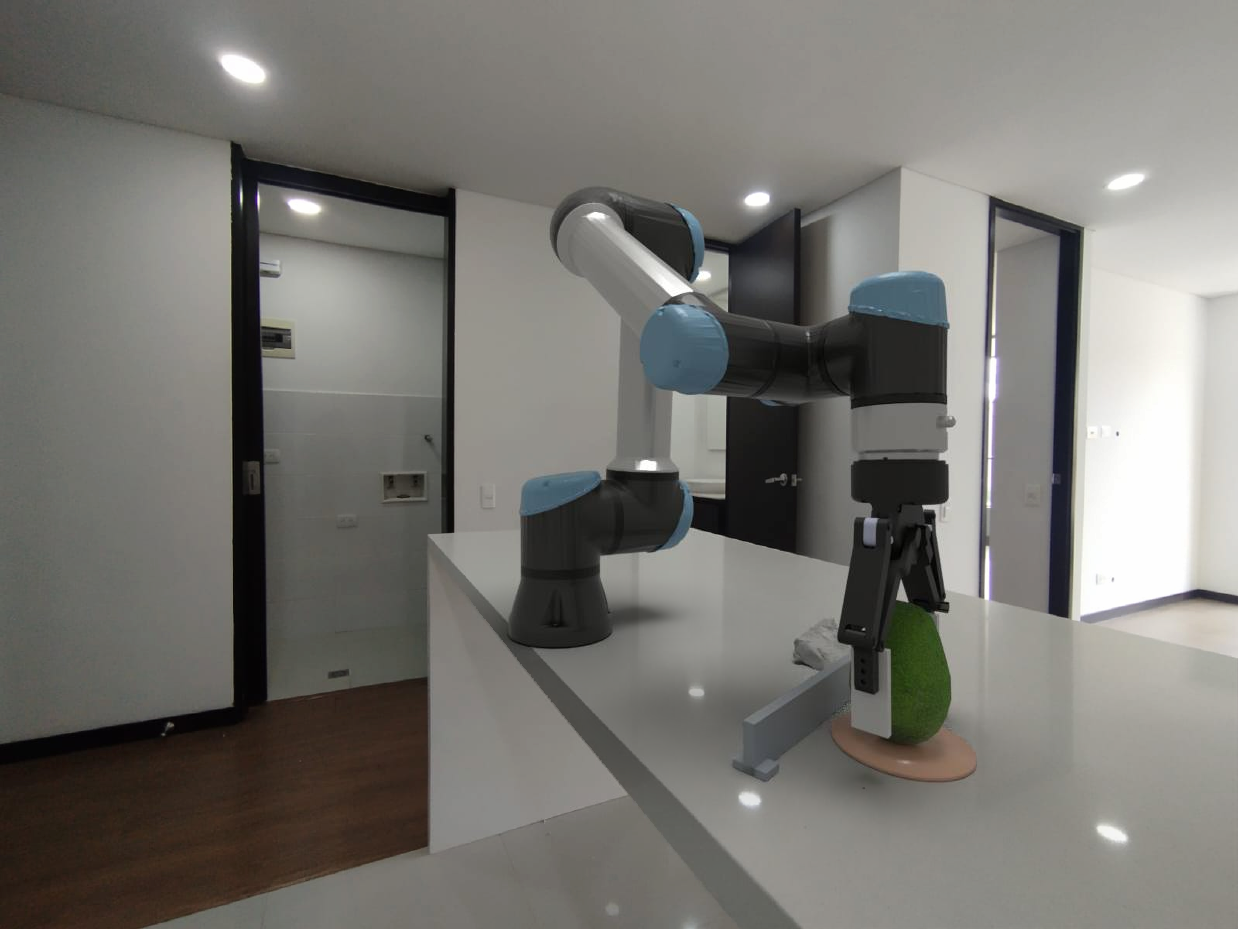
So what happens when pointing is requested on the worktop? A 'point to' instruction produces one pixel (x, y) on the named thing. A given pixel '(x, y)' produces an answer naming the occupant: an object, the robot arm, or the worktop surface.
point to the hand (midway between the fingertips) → (899, 703)
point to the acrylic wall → (792, 718)
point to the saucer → (907, 753)
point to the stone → (820, 645)
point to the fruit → (916, 676)
